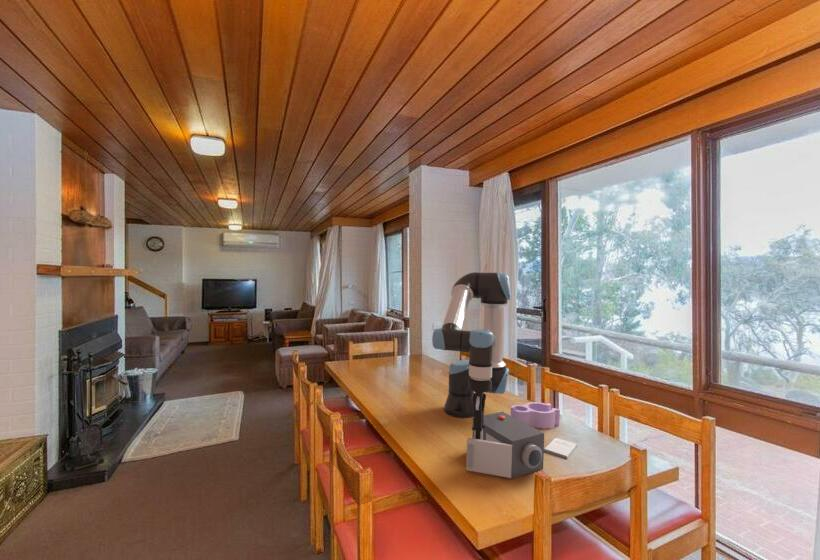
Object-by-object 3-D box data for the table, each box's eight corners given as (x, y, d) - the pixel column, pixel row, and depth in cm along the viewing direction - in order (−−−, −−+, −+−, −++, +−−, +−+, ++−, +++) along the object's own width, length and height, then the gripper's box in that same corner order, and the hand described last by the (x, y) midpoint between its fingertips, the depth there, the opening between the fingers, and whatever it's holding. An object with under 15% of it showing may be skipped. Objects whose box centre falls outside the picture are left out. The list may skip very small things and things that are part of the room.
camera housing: (471, 450, 132) (472, 415, 131) (501, 442, 138) (502, 409, 138) (518, 484, 111) (519, 442, 111) (550, 473, 118) (551, 434, 118)
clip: (519, 431, 149) (520, 414, 149) (505, 419, 161) (506, 403, 161) (563, 428, 153) (563, 411, 153) (546, 416, 165) (547, 401, 165)
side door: (465, 471, 116) (466, 440, 116) (466, 468, 118) (467, 437, 118) (510, 479, 112) (511, 447, 111) (511, 476, 114) (512, 444, 114)
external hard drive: (543, 453, 132) (554, 441, 142) (567, 460, 127) (577, 447, 137) (543, 448, 132) (554, 436, 142) (567, 456, 127) (577, 443, 137)
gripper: (471, 371, 126) (469, 438, 127) (465, 381, 114) (463, 456, 114) (493, 373, 124) (491, 441, 125) (490, 384, 112) (487, 460, 112)
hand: (477, 448), depth 120 cm, fingers closed
